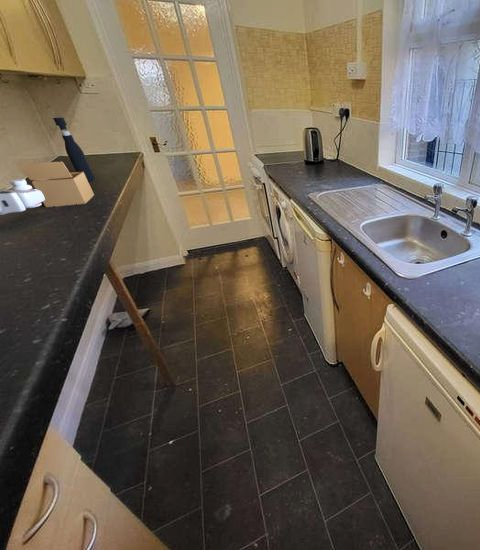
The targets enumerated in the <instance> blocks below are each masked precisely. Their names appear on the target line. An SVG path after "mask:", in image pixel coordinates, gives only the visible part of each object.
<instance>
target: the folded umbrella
mask: <svg viewBox="0 0 480 550" xmlns="http://www.w3.org/2000/svg"><path fill="white" fill-rule="evenodd" d="M53 121H54V124H56V125H55V126H58V127H59V130H60V134H61V137H62V139H63V141H64V149H65V152H66V154H67V156H68V159H69V161H70V162H71V165H72V167H73V168H74V170H75V172H84V174H85V176H86V178H87V180H88V181H90V182H94V181H96V180H97V178H96V176H95V174H94V172H93V170H92V167H91V166H90V164H89V162H88V160H87V157H86V154H85V153H84V151H83V149H82V148H81V147H80V145H79V143H77V142H76V141H75V139H74V137H73V135H72V134H71V132H70V131H69V130H68V128H67V126H68V124H67V122H66V120H65V118H64V117H53Z"/></svg>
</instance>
